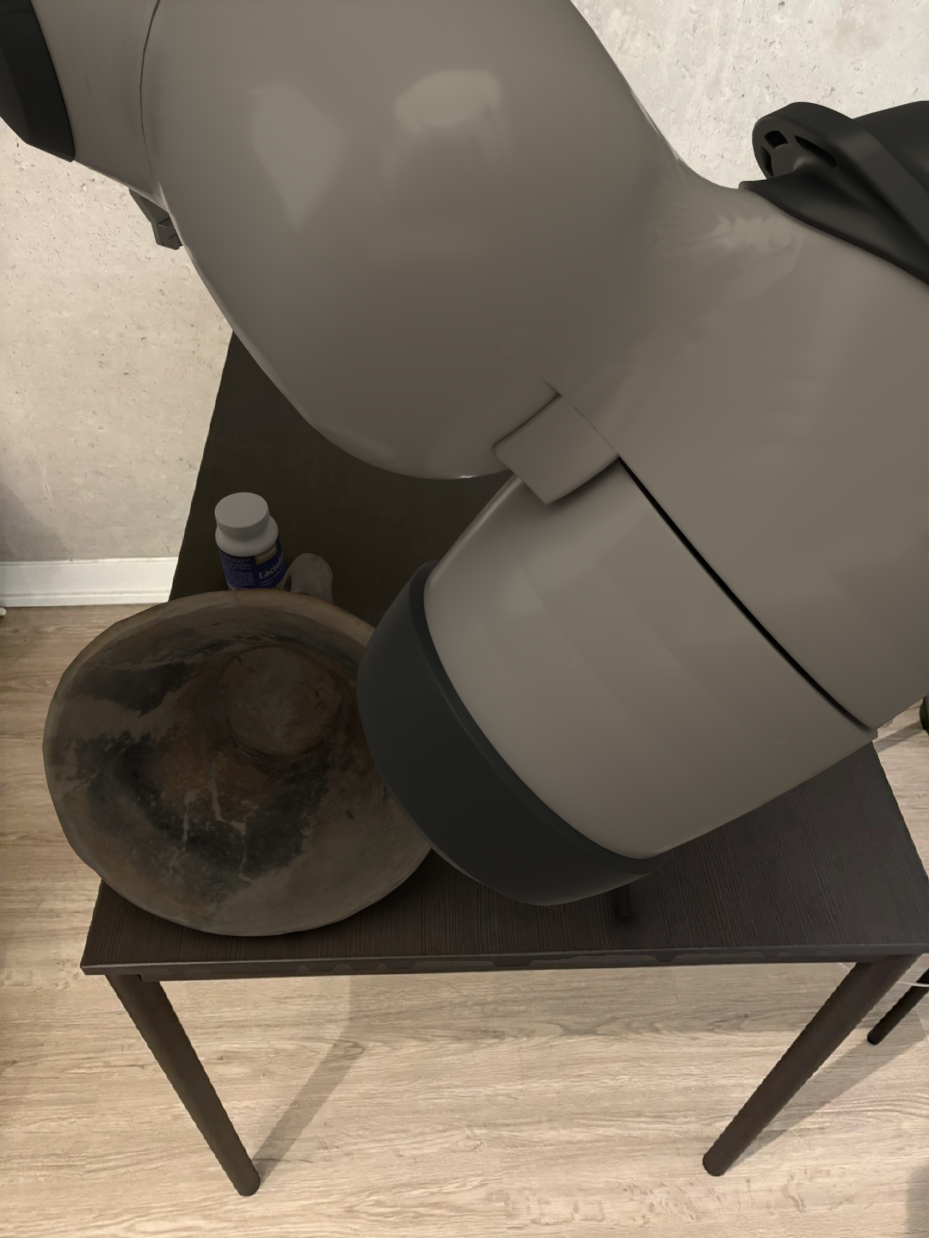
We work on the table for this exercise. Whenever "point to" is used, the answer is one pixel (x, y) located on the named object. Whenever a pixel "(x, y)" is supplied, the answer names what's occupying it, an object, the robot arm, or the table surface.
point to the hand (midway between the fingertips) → (228, 261)
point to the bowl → (229, 761)
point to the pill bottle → (248, 543)
